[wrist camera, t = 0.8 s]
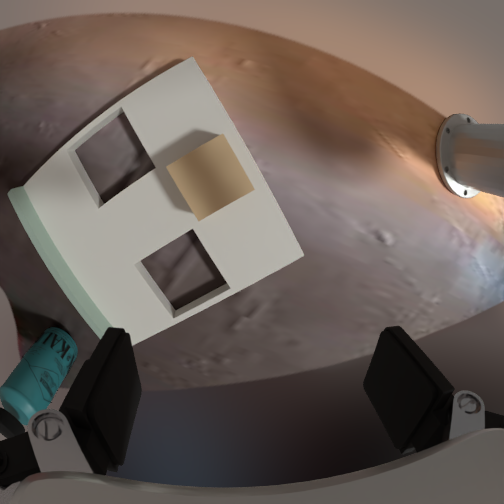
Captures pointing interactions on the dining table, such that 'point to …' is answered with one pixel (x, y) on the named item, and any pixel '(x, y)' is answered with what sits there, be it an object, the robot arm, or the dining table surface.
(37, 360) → the beverage bottle
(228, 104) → the dining table surface
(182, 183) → the block
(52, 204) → the board
